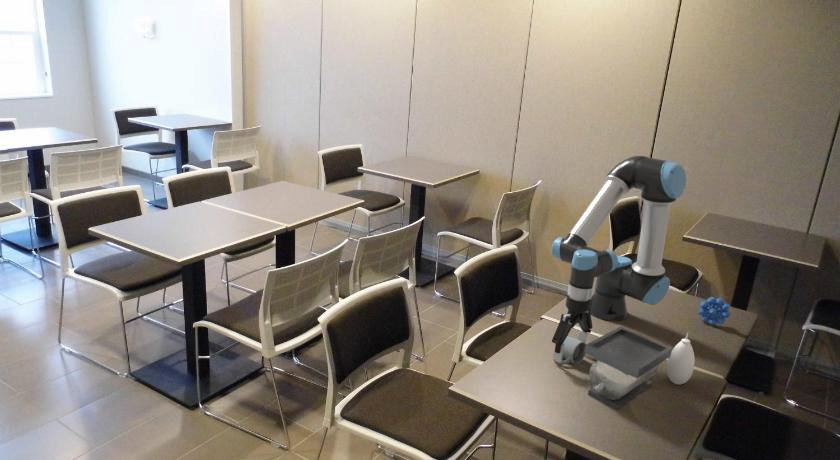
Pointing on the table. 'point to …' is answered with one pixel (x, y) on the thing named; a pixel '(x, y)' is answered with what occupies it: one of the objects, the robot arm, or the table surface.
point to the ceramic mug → (572, 351)
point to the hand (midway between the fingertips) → (569, 354)
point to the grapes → (714, 311)
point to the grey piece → (623, 366)
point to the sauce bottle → (681, 362)
